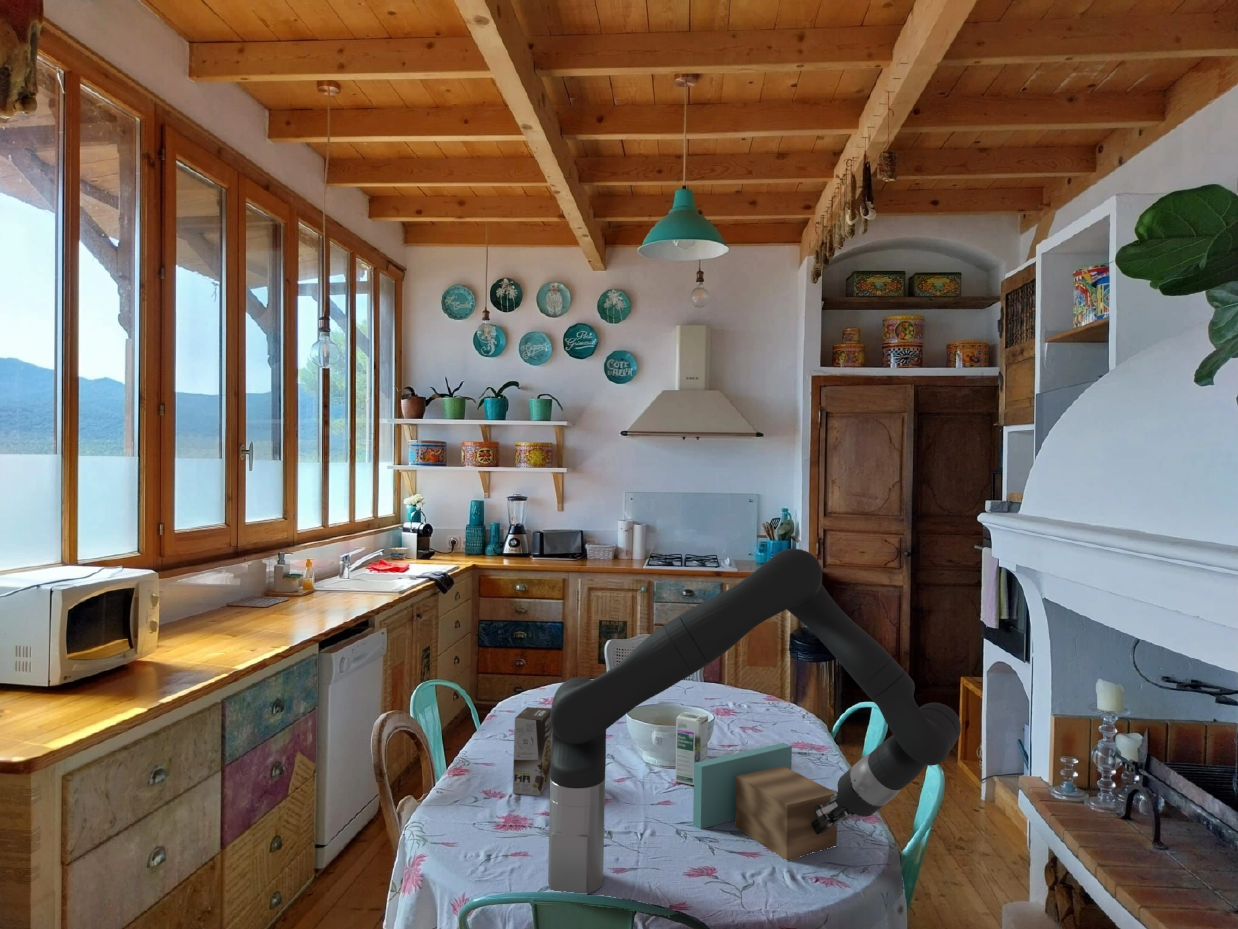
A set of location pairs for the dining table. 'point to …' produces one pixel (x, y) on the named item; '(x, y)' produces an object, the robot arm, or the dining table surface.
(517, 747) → the coffee box
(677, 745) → the syrup box
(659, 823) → the dining table surface
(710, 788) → the teal board
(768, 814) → the walnut block
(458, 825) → the dining table surface
